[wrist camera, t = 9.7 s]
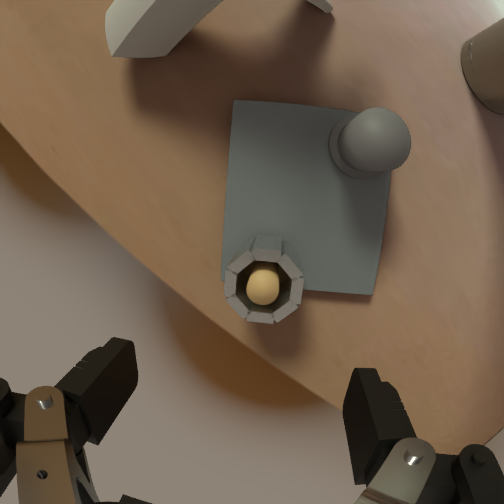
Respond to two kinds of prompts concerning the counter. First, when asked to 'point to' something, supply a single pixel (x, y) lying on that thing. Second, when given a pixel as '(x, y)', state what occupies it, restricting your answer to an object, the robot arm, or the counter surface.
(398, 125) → the board
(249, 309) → the tube
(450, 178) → the counter surface
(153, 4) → the faucet
